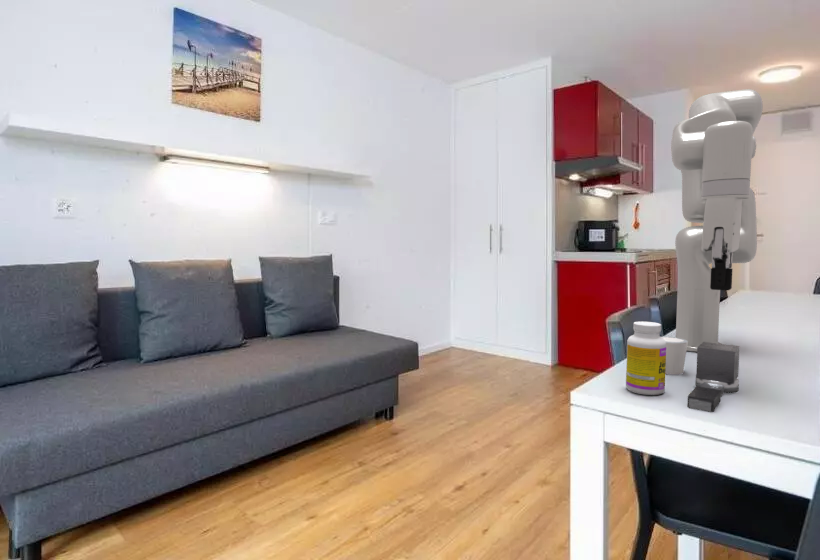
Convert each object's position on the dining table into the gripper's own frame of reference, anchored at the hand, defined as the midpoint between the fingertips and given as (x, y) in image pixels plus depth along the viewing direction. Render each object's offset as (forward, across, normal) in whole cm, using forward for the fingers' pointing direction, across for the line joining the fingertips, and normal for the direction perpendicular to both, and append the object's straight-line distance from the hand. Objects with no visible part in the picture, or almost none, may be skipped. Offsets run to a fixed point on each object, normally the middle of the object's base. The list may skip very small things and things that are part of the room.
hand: (720, 289), depth 92 cm
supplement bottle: (+19, +11, -10) cm, 24 cm away
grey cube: (+17, 0, 0) cm, 17 cm away
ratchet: (+19, +6, 0) cm, 20 cm away
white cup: (+19, -7, -10) cm, 23 cm away
